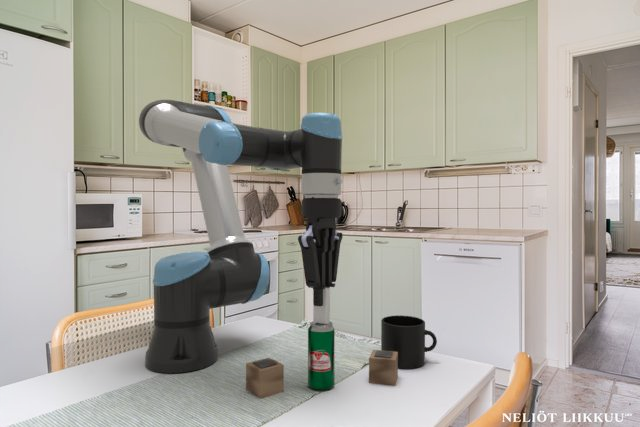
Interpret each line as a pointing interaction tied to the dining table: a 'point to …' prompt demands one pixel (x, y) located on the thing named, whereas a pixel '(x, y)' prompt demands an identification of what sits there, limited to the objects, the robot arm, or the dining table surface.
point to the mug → (406, 339)
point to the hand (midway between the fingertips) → (321, 322)
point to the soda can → (321, 356)
